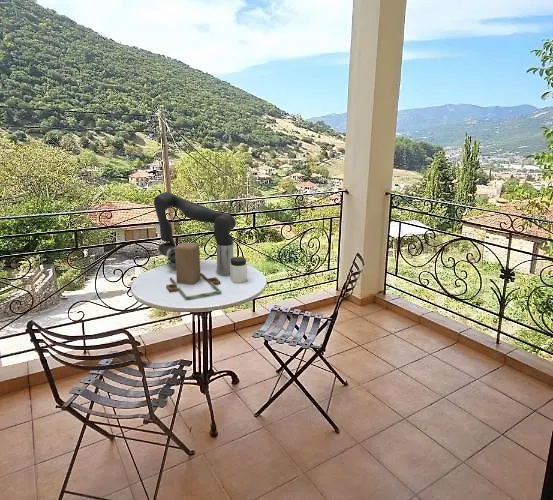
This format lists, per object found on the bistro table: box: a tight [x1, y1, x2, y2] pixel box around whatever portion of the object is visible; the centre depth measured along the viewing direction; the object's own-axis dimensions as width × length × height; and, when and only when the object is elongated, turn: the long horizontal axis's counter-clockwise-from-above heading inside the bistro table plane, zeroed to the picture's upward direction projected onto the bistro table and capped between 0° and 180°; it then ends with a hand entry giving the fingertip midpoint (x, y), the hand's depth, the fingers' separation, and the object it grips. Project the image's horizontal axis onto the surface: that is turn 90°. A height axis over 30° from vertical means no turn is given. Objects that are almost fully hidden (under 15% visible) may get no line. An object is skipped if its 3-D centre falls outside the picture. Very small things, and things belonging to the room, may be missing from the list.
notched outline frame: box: [165, 272, 222, 301], centre depth 199 cm, size 26×30×2 cm
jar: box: [229, 256, 248, 284], centre depth 208 cm, size 9×8×12 cm
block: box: [175, 242, 202, 285], centre depth 205 cm, size 10×10×20 cm
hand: (182, 263), depth 214 cm, fingers closed
